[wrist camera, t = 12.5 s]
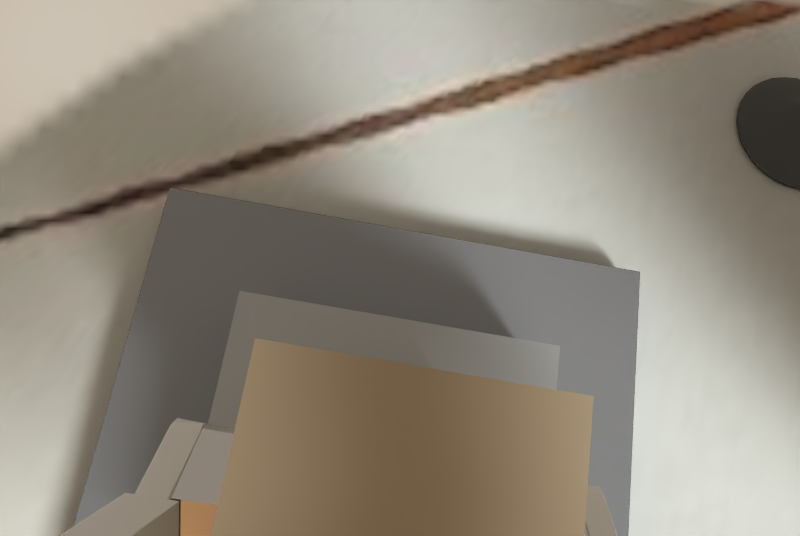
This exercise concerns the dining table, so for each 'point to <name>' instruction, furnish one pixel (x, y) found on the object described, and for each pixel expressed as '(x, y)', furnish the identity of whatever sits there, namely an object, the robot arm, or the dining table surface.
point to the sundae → (773, 128)
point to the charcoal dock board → (358, 324)
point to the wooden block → (400, 451)
